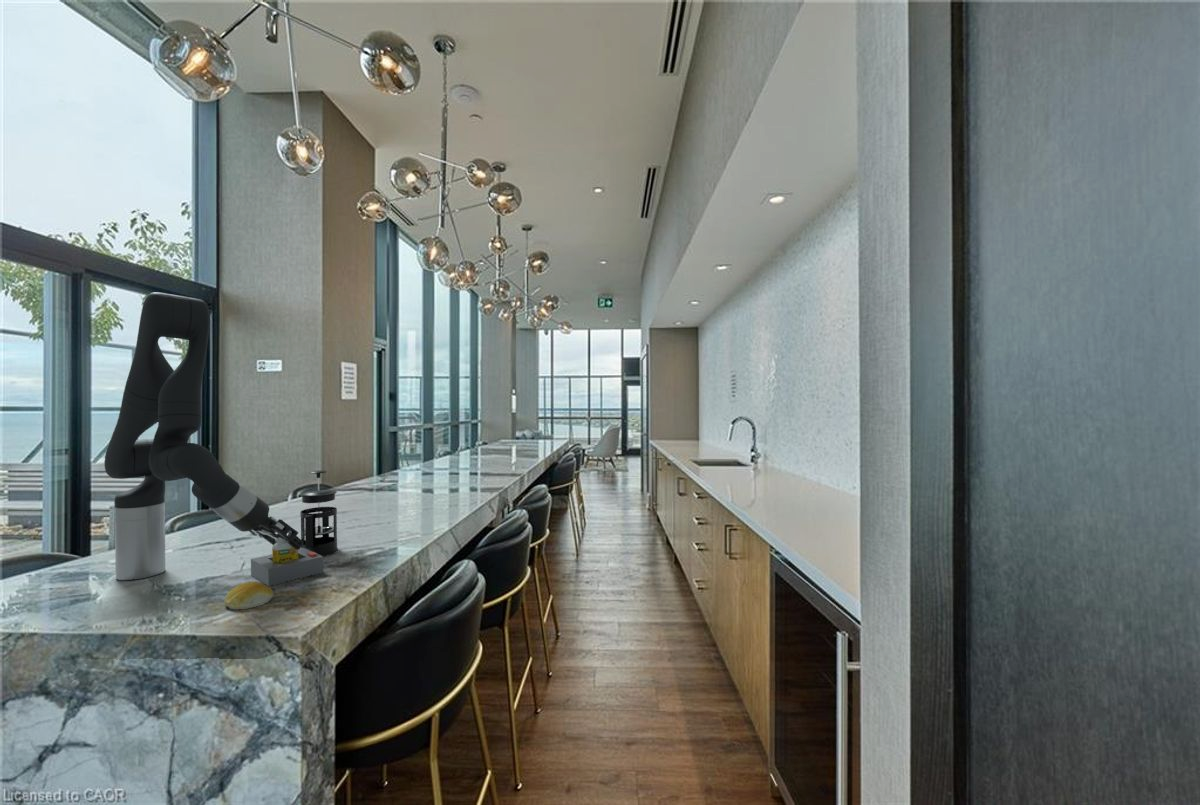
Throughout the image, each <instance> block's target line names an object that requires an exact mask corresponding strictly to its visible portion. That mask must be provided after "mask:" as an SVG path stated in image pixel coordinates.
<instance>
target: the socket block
mask: <svg viewBox="0 0 1200 805" xmlns="http://www.w3.org/2000/svg"><path fill="white" fill-rule="evenodd" d="M319 573H320V574H324V556H321V555H319V554H317V553H315V552H312V551H310V550H308V549H305V548H300V549H299V550H298V559H296V560H292V561H287V562H283V563H279V564H277V563H275V562H273V553H272V554H267V555H263V556H258V557H254V558H250V576H252V577H253V578H254V579H256V580H258V581H259V582H260V583H262V582H263V583H262V584H263V585H265V584H266V585H265V586H267V587H272V586H271V585H273V586H275V584H277V585H280V584H279V583H281V584H284V583H283V582H285V583H287V582H286V581H289V582H291V581H290V580H292V581H295V579H296V580H299V579H298V578H300V579H303V578H302V577H304V578H307V577H306V576H308V577H311V576H310V575H312V576H316V575H320V574H319ZM315 574H316V575H315Z"/></svg>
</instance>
